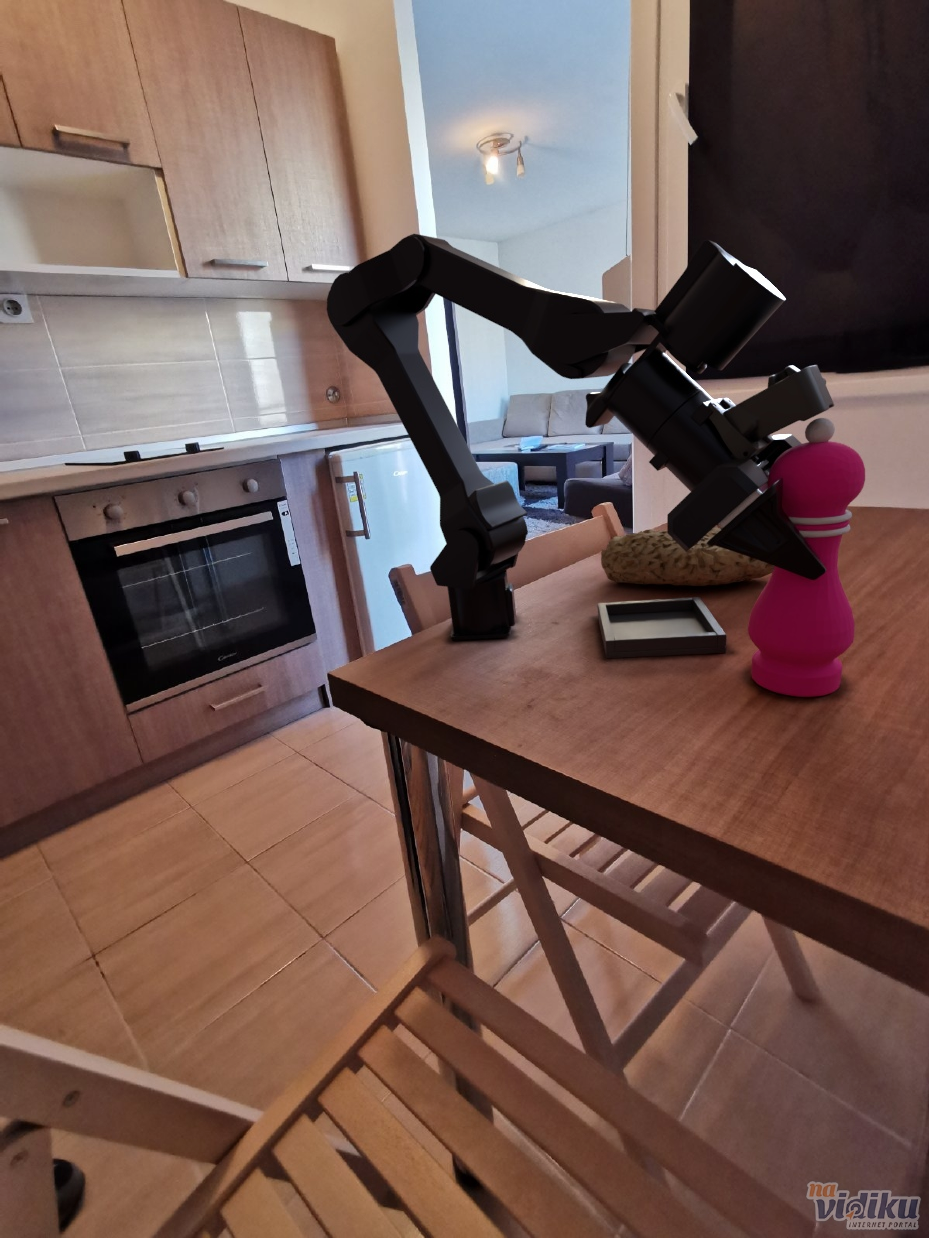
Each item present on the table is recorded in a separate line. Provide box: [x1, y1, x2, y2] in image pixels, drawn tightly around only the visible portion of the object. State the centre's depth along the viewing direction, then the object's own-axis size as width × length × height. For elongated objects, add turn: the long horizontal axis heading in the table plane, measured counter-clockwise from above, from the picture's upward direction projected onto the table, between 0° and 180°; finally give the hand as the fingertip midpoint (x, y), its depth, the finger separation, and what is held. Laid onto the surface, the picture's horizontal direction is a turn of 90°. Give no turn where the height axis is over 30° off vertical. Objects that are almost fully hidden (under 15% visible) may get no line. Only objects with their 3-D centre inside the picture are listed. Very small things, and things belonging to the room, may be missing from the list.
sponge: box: [600, 526, 775, 587], centre depth 71 cm, size 13×8×20 cm
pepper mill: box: [747, 417, 866, 698], centre depth 44 cm, size 7×7×20 cm
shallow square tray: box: [597, 596, 728, 659], centre depth 59 cm, size 11×11×2 cm
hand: (825, 566), depth 43 cm, fingers closed on pepper mill, 5 cm apart
